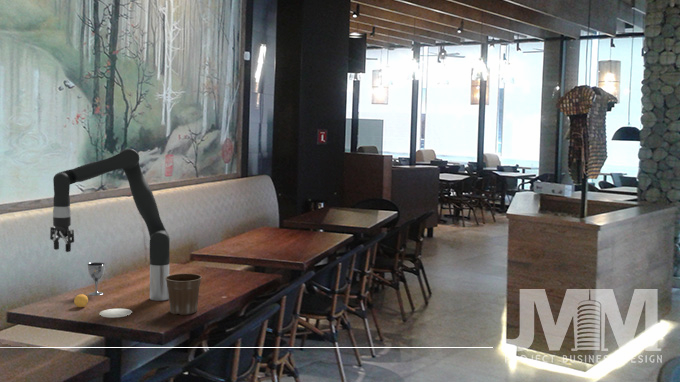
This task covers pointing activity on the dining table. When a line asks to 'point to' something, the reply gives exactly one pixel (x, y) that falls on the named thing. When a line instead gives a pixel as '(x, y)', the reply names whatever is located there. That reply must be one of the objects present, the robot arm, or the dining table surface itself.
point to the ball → (81, 300)
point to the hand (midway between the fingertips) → (62, 250)
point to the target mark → (115, 313)
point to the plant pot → (183, 293)
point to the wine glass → (96, 275)
